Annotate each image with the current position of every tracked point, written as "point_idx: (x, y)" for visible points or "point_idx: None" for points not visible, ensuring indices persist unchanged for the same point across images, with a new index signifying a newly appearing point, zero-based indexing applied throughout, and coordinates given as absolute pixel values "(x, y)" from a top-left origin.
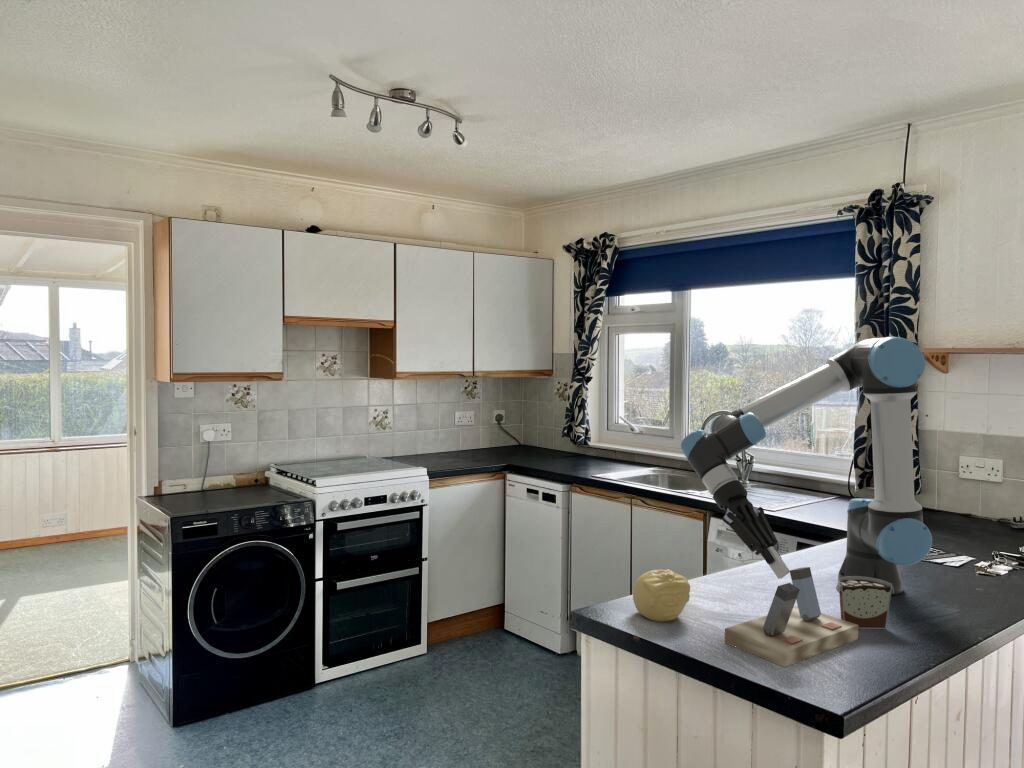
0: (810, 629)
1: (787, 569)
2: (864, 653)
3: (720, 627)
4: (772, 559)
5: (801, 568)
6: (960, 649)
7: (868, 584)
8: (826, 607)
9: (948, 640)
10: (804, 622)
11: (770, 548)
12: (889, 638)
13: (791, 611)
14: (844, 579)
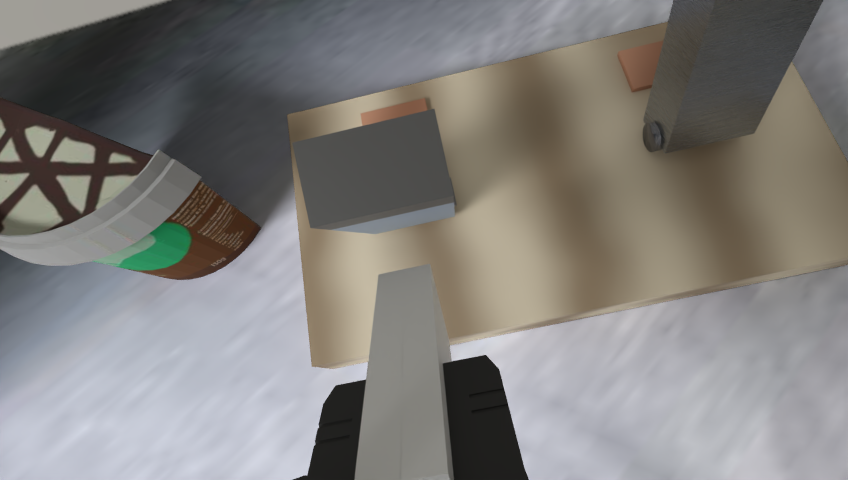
0: (499, 129)
1: (393, 282)
2: (391, 57)
3: (760, 422)
4: (476, 369)
5: (358, 163)
6: (124, 15)
7: (19, 151)
8: (105, 433)
9: (82, 64)
10: (462, 192)
11: (436, 452)
12: (212, 119)
13: (669, 26)
14: (44, 238)
